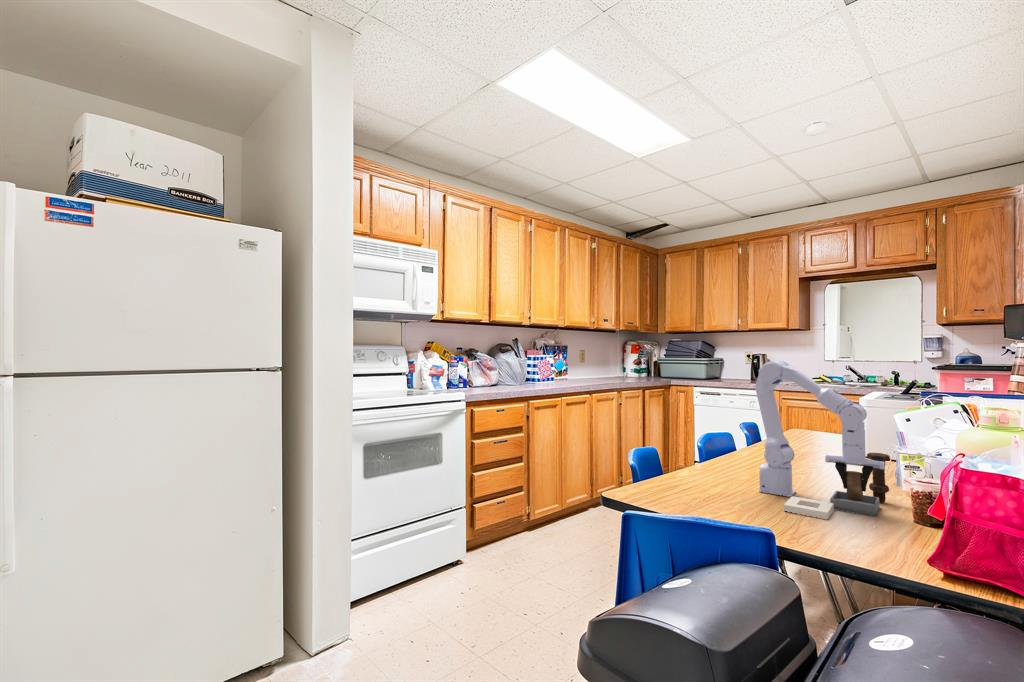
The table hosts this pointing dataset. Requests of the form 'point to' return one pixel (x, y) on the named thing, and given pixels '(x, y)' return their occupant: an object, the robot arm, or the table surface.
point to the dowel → (854, 485)
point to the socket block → (809, 507)
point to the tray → (855, 504)
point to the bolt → (879, 477)
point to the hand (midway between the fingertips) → (854, 489)
